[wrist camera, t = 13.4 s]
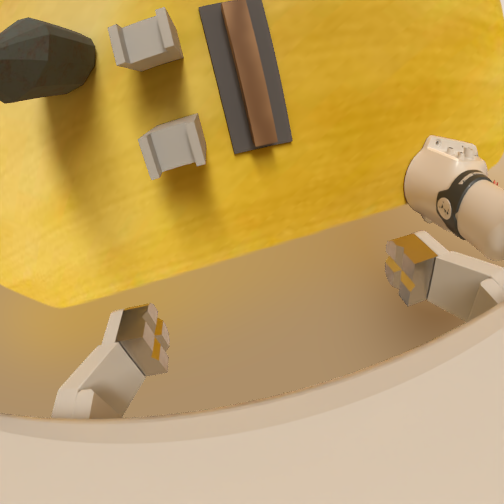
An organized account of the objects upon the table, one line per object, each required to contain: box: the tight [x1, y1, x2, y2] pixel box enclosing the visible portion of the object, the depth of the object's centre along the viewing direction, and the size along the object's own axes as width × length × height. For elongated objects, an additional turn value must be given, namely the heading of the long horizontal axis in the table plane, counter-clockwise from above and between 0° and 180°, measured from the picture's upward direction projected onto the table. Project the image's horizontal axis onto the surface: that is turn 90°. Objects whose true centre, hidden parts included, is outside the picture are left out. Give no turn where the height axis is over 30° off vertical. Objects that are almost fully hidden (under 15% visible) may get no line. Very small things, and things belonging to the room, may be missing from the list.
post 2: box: [138, 113, 206, 180], centre depth 35 cm, size 6×5×12 cm
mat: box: [199, 0, 292, 154], centre depth 36 cm, size 9×24×1 cm, turn 12°
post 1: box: [108, 7, 183, 71], centre depth 28 cm, size 6×5×12 cm
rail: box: [221, 0, 278, 147], centre depth 35 cm, size 3×22×3 cm, turn 12°
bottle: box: [0, 17, 95, 103], centre depth 18 cm, size 10×10×30 cm
